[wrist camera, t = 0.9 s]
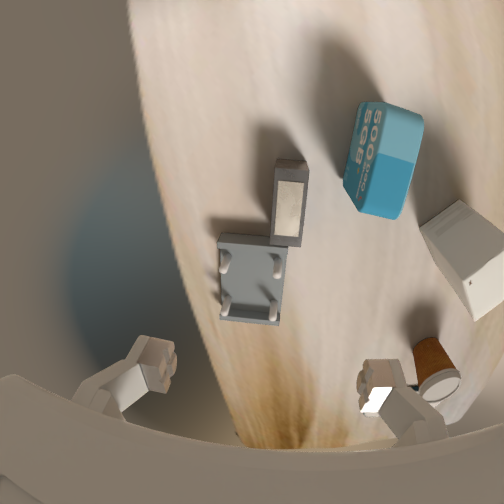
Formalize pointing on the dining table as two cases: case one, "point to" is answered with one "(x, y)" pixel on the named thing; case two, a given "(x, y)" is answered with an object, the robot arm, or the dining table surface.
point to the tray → (251, 278)
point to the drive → (289, 202)
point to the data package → (382, 158)
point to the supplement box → (468, 256)
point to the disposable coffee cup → (435, 371)
